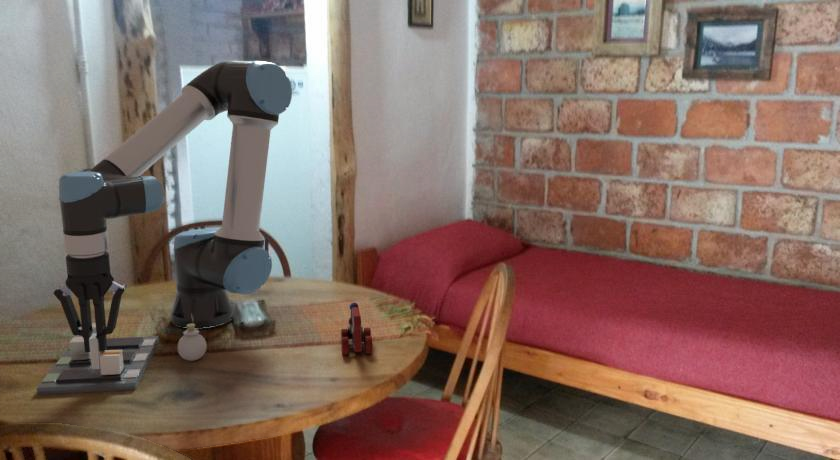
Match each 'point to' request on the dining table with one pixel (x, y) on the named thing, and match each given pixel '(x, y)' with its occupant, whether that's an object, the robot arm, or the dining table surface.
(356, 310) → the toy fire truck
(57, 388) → the panel
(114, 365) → the knob
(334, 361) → the dining table surface
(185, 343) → the ornament
